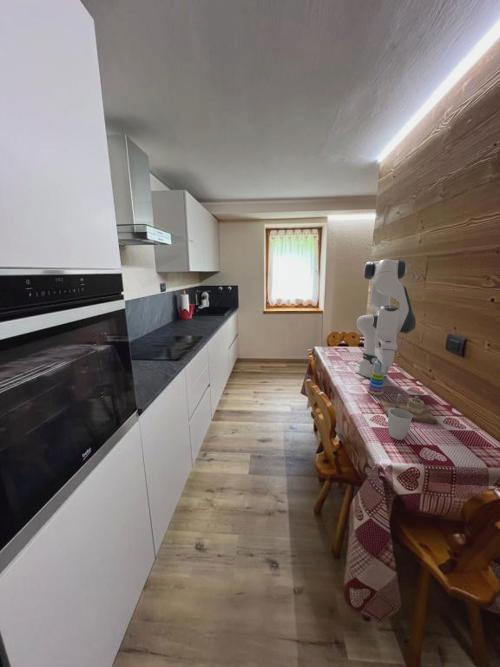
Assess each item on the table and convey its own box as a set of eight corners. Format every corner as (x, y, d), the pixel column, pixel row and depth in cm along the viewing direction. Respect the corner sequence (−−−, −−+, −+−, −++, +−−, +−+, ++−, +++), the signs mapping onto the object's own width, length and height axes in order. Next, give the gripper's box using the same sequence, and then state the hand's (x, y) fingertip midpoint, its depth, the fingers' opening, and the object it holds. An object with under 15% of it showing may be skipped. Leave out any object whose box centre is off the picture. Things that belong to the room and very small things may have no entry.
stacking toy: (384, 396, 140) (390, 363, 136) (368, 394, 142) (373, 361, 138) (380, 390, 148) (385, 358, 144) (365, 388, 149) (369, 357, 145)
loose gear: (372, 369, 130) (373, 360, 128) (385, 371, 128) (387, 361, 127) (374, 374, 124) (376, 364, 123) (388, 375, 122) (390, 365, 121)
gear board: (379, 402, 133) (382, 387, 132) (424, 408, 129) (427, 392, 127) (386, 416, 120) (389, 399, 118) (436, 423, 116) (440, 405, 114)
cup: (413, 440, 103) (417, 417, 101) (396, 443, 101) (400, 420, 99) (396, 428, 111) (400, 407, 109) (380, 431, 109) (384, 409, 106)
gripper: (373, 335, 133) (369, 361, 136) (382, 345, 114) (378, 376, 117) (386, 336, 132) (383, 363, 135) (398, 347, 112) (393, 377, 115)
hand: (380, 369), depth 126 cm, fingers closed on loose gear, 6 cm apart
